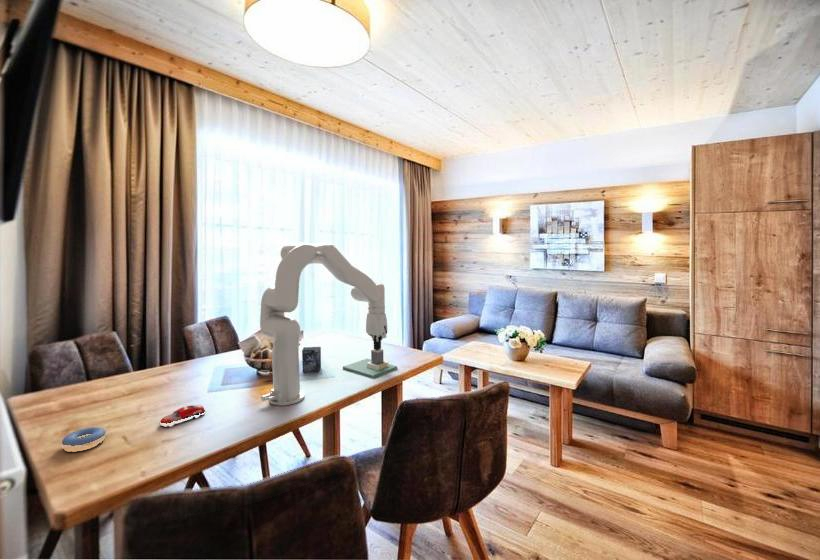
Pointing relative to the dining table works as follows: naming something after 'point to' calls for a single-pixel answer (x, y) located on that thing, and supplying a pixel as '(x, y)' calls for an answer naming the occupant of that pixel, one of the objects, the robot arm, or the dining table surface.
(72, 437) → the doughnut
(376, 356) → the plug
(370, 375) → the board
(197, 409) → the race car
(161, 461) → the dining table surface
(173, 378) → the dining table surface
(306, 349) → the box
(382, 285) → the robot arm
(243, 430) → the dining table surface
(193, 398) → the dining table surface
